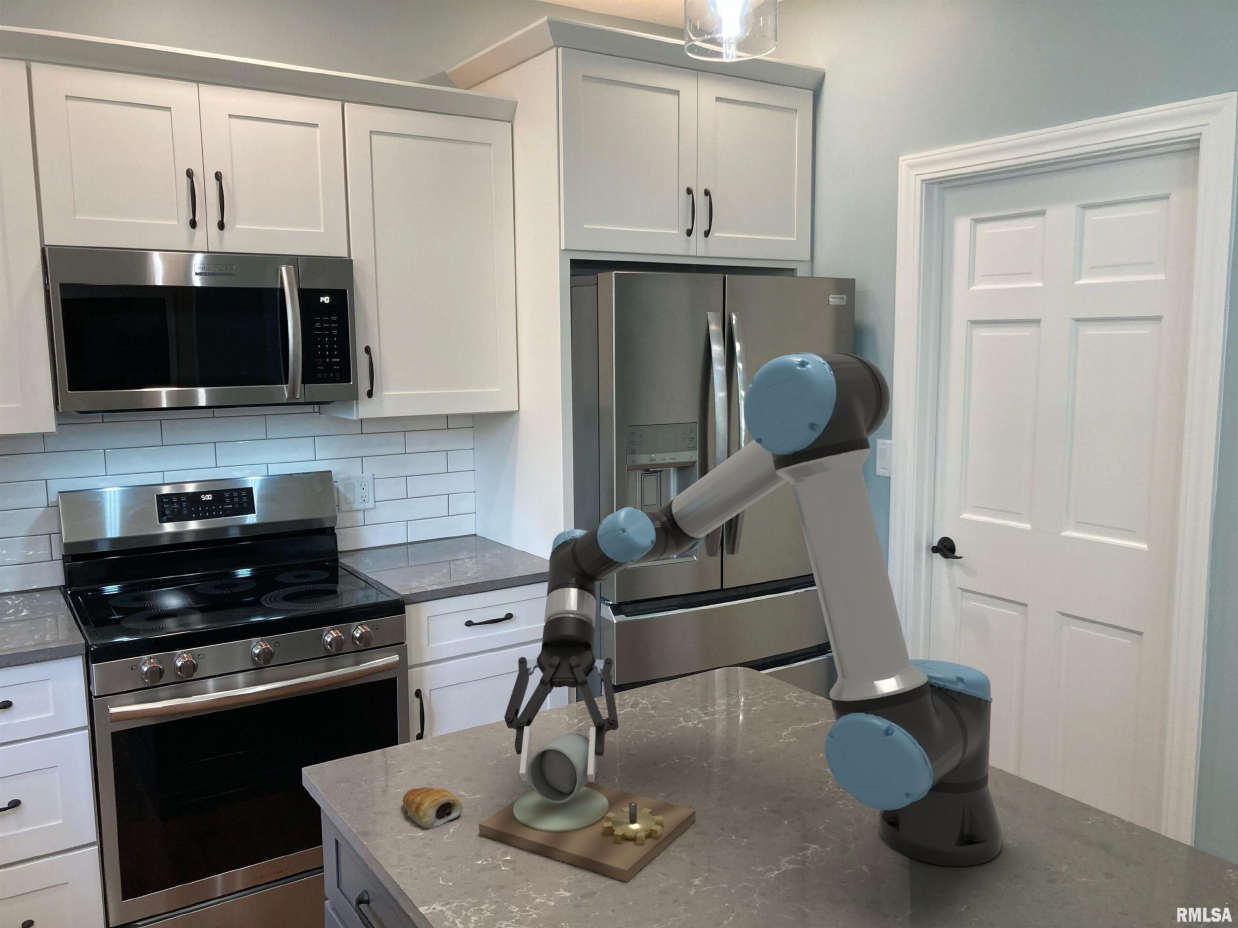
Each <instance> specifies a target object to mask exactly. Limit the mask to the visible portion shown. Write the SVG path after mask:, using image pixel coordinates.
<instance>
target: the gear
mask: <svg viewBox="0 0 1238 928" xmlns="http://www.w3.org/2000/svg"><path fill="white" fill-rule="evenodd" d="M662 828H664V819H663V817H662V816H652V810H651V809H647V808H644V809H643V810H641V811H637V803H636V802H630V803H629V807H624V808H622V812H621V813H618V814H614V813H611V812H609V813H608V814H606V815H605V823H602V832H603V834H604V836H605V835H613V842H615V843H619V844H621V843H623V842H624V841H625V840H627V841H635V843H636V845H642V844H645V839H647V838H649V837H652V838H655V839H659V838H660V837H661V836H662Z"/></svg>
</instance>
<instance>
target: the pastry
mask: <svg viewBox="0 0 1238 928" xmlns="http://www.w3.org/2000/svg"><path fill="white" fill-rule="evenodd" d="M402 803H403V806H404V808H405V810H406V812H407V816H408V817H409V818H410V819H412V820H413V821H414V822H415V823H416V824H417V825H419V826H420V827H422V828H423V829H432V828H437V827H440V826H441V825H444V824H446V823H448V822H449V821H452V820H454V819H456V818H458V817H459V816H460V815H461V813H462V810H463V803H462V802H461V801H460V798H459V797H457V796H455V795H454V794H453V793H452V792H451V791H448V790H447V789H445V788H441V787H440V788H437V787H432V786H427V787H425V786H424V787H420V788H411V789H410V790H408V791H406V793H405V794H404V795H403V797H402Z"/></svg>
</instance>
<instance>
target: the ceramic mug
mask: <svg viewBox="0 0 1238 928" xmlns="http://www.w3.org/2000/svg"><path fill="white" fill-rule="evenodd" d="M588 754H589V738H588V737H587V736H586V735H583V734H582V733H581V734H580V733H577V732H576V733H574V732H573V733H566V734H563V735H561V736H559V737H557V738H556V739H554V740H553V741H551V742H550V743H548V744H546V745H545V746H543V747H541V748H540V749H538V750H537V751H536V752H535V753H534V754H533V755H532V757H531V758H530V762H529V772H528V781H522V779H521V776H520V775H519V777H518V780H519V783H520V784H521V787H522V788H523V789H528V788H533V789H534V790H535V792H536V793H537V794H538V795H539V796H540V797H542V798H543V799H545V800H547V801H549V802H552V803H564V802H567V801H569V800H570V799H571V798H573V797H574V796H575V795H576V794H577V793H578V792H579V791H580V790H581V789H582V788H583V787H584V786H585V785H586V784H587V783H588V782H589V780H588V775H587V771H588ZM599 757H600V756H596V763H595V774H596V773H597V770H598V767H599V763H600V758H599ZM533 789H532V790H533Z"/></svg>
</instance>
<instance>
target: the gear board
mask: <svg viewBox="0 0 1238 928" xmlns="http://www.w3.org/2000/svg"><path fill="white" fill-rule="evenodd" d="M630 802H636V803H637V811H641V810H643V809H644V808H647V809H651V810H652V816H662V817H663V819H664V828H662V836H661V837H660V838H659V839H655V838H652V837H649V838H647V839H645V844H642V845H636V843H635V841H627V840H625V841H624V842H623V843H621V844H619V843H615V842H613V835H605V836H604V834H603V832H602V823H605V815H606V814H608V813H609V812H611V813H614V814H618V813H621V812H622V808H624V807H629V803H630ZM694 821H695V822H696V809H693V808H688V807H684V806H681V805H677V804H673V803H669V802H667V801H662V800H658V799H655V798H650V797H647V796H644V795H639V794H635V793H632V792H628V791H624V790H620V789H617V788H612V787H608V786H604V785H601V784H597V783H594V782H588V783H587V784H586V785H585V786H584V787H583V788H582V789H581V790H580V791H579V792H578V793H577V794H576V795H575V796H574V797H573V798H571V799H570V800H569V801H567V802H564V803H552V802H549V801H547V800H545V799H543V798H542V797H540V796H539V795H538V794H537V793H536V792H535V790H534V789H531V790H530V791H528V792H527V791H526V793H524V794H522V795H521V796H519V797H518V799H516V800H514V801H513V802H511V803H509V804H508V805H506V806H505V807H503V808H502V809H500V810H498V811H497V812H495V813H494V814H492V815H490V816H489V817H488V818H486V819H484V820H483V821H480V823H478V835H479V836H482V837H485V838H489V839H491V840H494V841H497V842H501V843H504V844H506V845H510V846H513V847H516V848H520V849H522V850H525V851H529V852H531V853H535V854H538V855H541V856H544V857H547V856H548V857H547V858H550V857H551V859H553V858H555V859H554V860H556V861H559V860H560V861H559V862H562V861H564V862H563V863H566V864H569V863H570V864H569V865H572V864H573V865H572V866H575V865H577V866H576V867H578V866H579V867H578V868H582V869H585V870H587V869H588V871H590V870H592V871H591V872H594V873H597V874H600V875H602V876H603V875H604V876H606V877H609V878H612V879H616V880H620V881H622V882H625V883H628V882H629V881H630V880H631V879H633V877H635V876H636V875H637V874H638V873H640V872H641V870H642V869H644V868H645V867H646V866H647V865H648V864H649V863H651V861H653V859H655V858H656V857H657V856H658V855H659V854H661V853H662V851H664V850H665V849H666V848H667V847H668V846H669V845H670V844H672V842H673V841H675V840H676V839H678V837H679V836H681V834H683V833H684V832H685V831H686V830H687V829H688V828H690V826H692V825H693V824H694V823H695V822H694ZM693 822H694V823H693ZM686 828H687V829H686ZM685 829H686V830H685ZM684 830H685V831H684ZM683 831H684V832H683Z"/></svg>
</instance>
